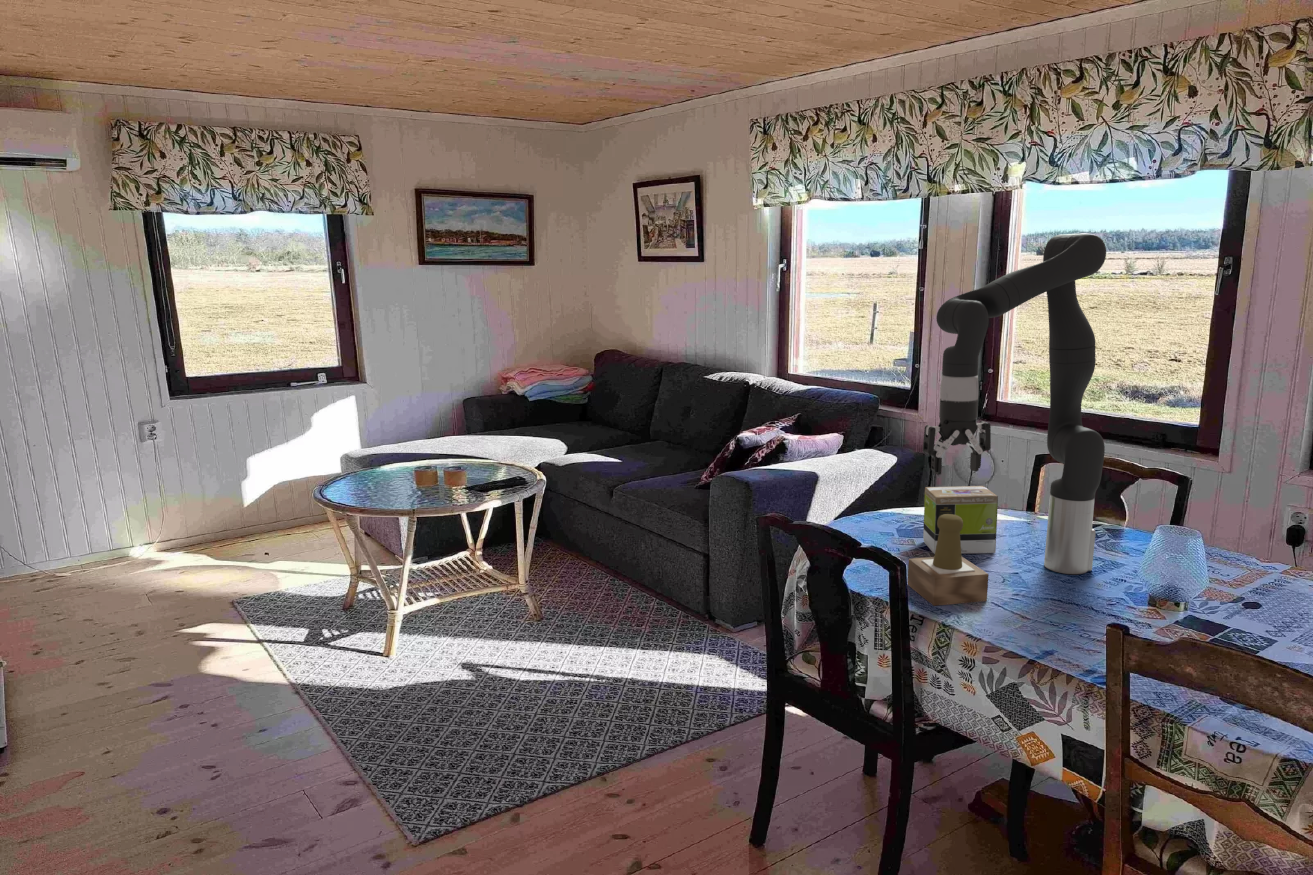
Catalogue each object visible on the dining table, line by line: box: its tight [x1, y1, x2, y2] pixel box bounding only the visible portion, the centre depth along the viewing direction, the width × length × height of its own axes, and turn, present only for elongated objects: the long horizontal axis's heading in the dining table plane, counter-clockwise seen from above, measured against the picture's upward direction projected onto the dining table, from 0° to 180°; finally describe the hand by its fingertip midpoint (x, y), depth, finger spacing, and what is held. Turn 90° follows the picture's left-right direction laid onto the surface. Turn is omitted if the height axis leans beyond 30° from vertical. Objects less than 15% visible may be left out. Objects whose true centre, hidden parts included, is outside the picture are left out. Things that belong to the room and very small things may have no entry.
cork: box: [933, 514, 963, 570], centre depth 186 cm, size 6×6×11 cm
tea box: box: [922, 485, 999, 555], centre depth 215 cm, size 15×10×15 cm, turn 89°
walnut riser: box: [907, 556, 990, 607], centre depth 188 cm, size 12×12×6 cm
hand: (955, 472), depth 185 cm, fingers open, 8 cm apart
